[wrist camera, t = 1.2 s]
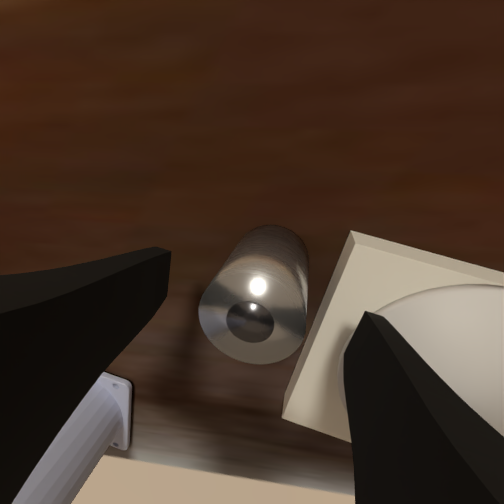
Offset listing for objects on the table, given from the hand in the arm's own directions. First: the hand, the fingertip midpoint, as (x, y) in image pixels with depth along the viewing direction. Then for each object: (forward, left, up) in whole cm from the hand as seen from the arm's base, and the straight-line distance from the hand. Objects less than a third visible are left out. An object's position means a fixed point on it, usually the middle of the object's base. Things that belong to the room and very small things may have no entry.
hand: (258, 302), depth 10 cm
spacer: (0, 0, -4) cm, 4 cm away
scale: (+9, -3, -4) cm, 10 cm away
